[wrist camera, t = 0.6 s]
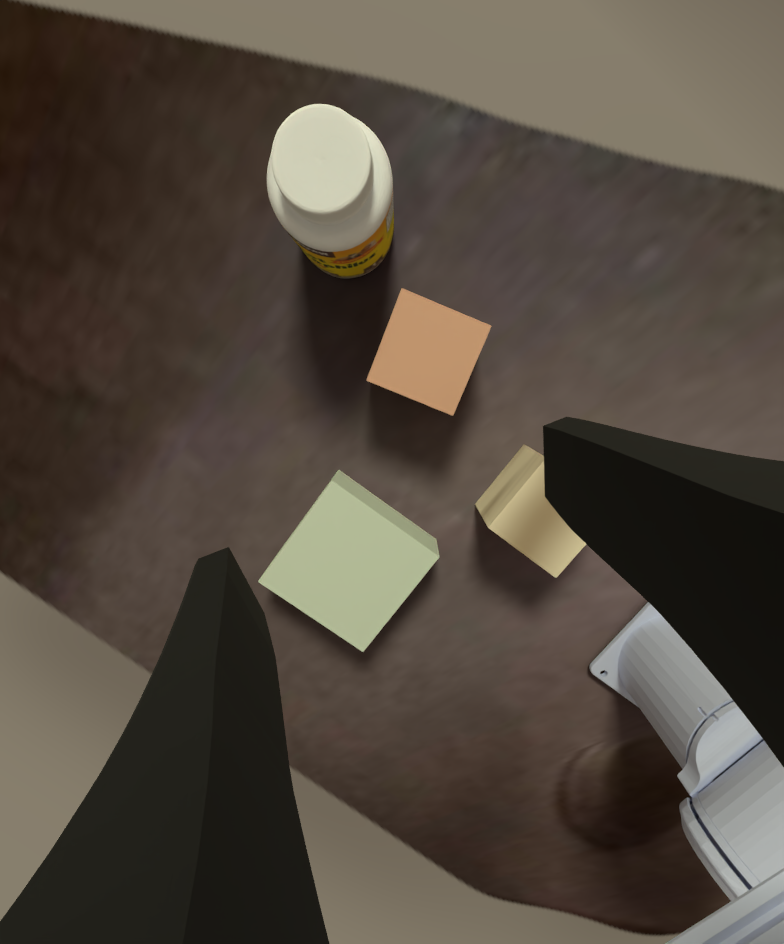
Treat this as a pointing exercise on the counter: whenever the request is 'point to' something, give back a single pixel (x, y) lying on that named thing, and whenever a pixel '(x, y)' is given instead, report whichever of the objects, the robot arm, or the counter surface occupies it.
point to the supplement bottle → (332, 190)
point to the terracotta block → (428, 352)
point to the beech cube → (529, 514)
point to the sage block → (351, 562)
